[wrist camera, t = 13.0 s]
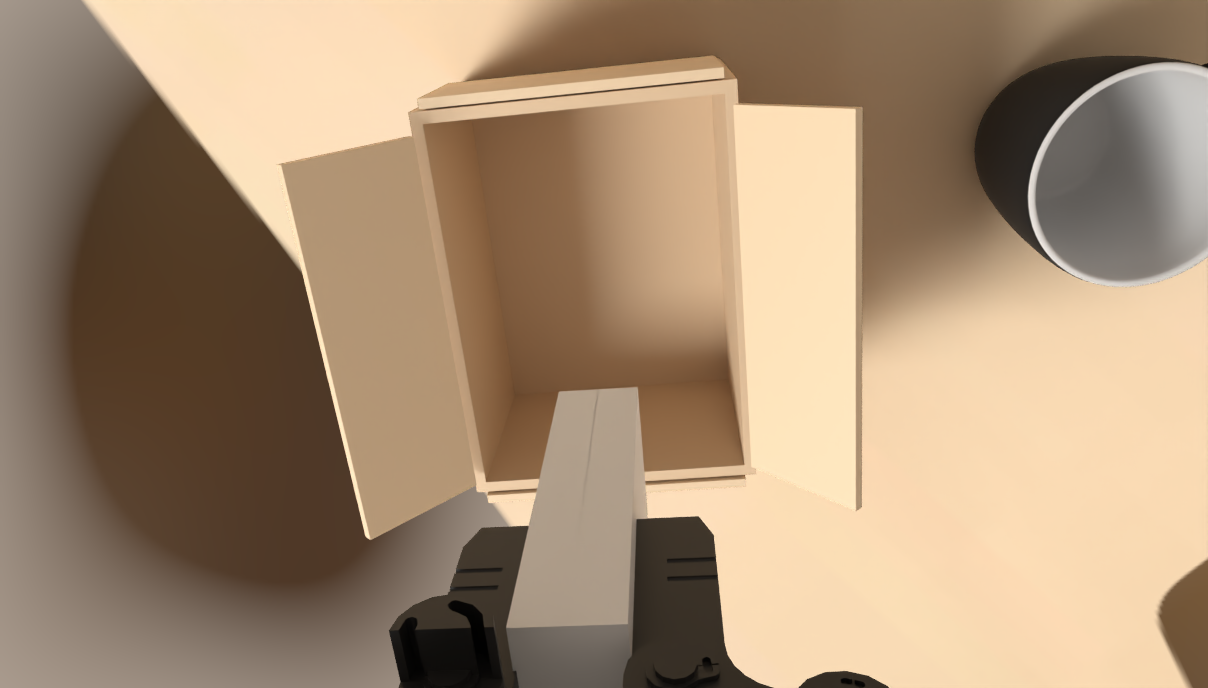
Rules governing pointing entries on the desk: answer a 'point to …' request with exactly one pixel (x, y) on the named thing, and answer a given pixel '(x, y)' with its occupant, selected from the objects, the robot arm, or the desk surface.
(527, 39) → the desk surface
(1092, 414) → the desk surface
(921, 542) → the desk surface
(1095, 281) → the mug
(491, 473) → the carton
